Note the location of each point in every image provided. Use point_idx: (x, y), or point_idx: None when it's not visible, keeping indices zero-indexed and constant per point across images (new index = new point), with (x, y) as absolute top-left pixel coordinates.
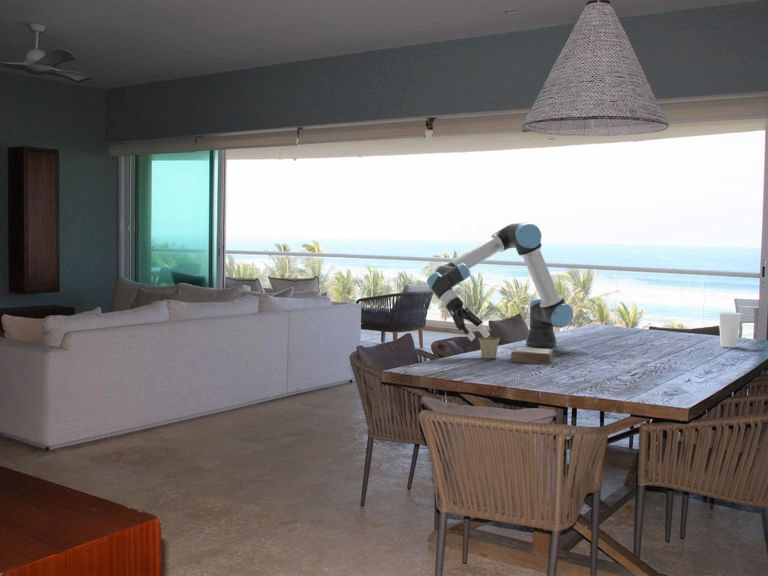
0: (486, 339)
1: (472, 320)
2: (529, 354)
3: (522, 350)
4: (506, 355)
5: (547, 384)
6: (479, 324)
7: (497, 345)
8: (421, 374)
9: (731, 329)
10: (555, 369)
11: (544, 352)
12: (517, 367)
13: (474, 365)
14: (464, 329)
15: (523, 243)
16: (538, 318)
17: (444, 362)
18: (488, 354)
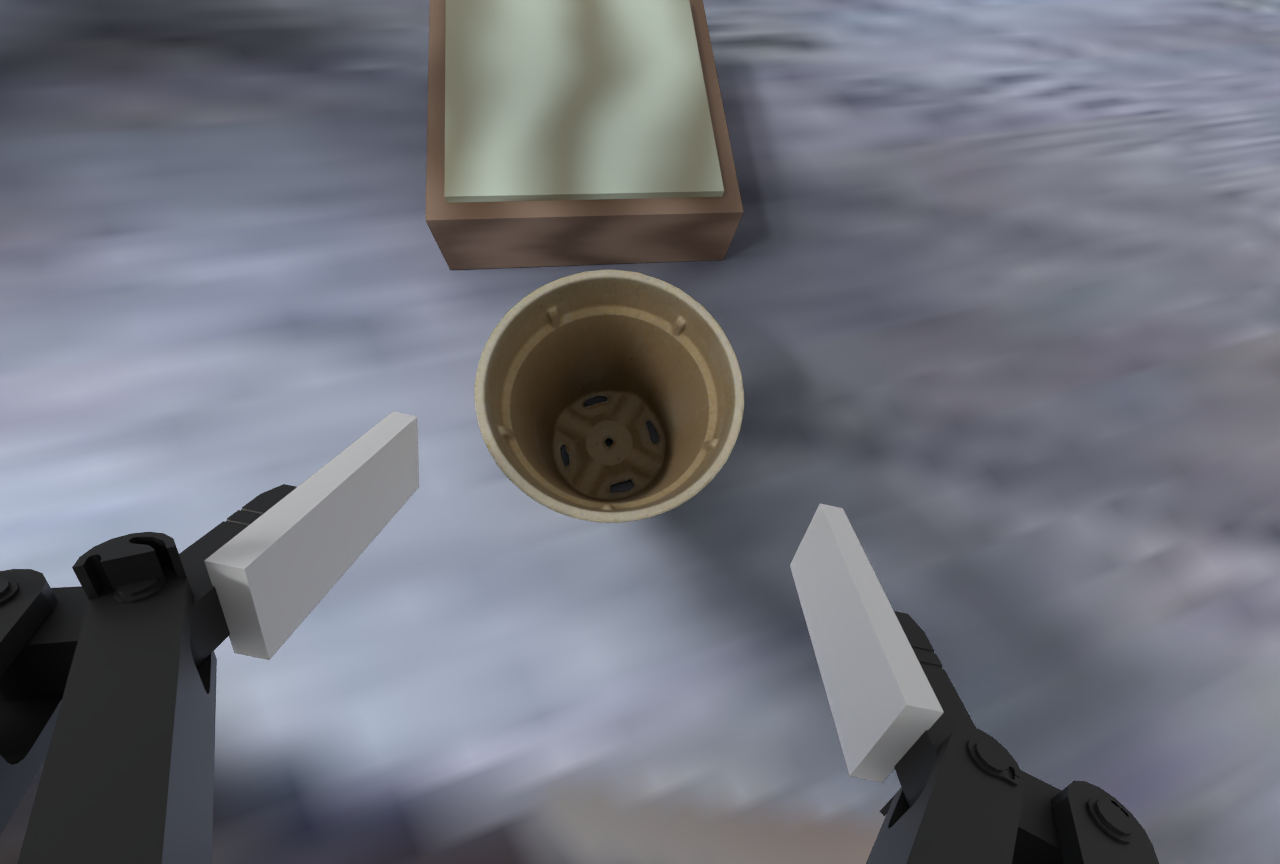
0: (507, 451)
1: (194, 824)
2: (720, 106)
3: (634, 145)
4: (386, 351)
5: (1273, 31)
6: (207, 606)
7: (612, 327)
8: None
9: None
10: (865, 26)
11: (665, 14)
12: (925, 192)
13: (1028, 443)
14: (945, 704)
15: None
16: None
17: (1052, 714)
18: (675, 422)
